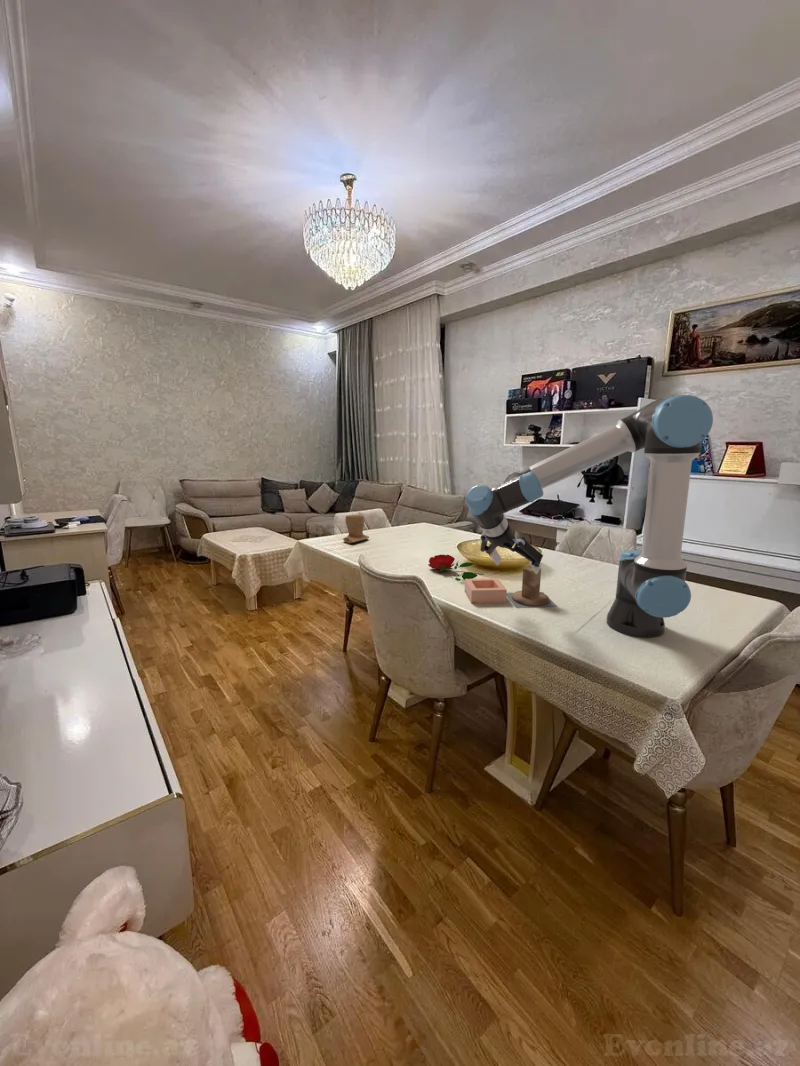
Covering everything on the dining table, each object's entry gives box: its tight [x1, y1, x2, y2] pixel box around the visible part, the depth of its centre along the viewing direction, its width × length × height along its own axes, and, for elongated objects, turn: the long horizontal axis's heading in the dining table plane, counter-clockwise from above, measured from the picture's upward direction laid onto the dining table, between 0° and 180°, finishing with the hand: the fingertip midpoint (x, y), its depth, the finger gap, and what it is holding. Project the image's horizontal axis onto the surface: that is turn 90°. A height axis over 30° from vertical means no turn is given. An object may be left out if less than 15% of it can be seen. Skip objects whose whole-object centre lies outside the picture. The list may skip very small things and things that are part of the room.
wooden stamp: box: [342, 513, 370, 544], centre depth 234 cm, size 15×12×15 cm
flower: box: [427, 554, 485, 581], centre depth 174 cm, size 9×10×30 cm
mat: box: [506, 591, 559, 609], centre depth 149 cm, size 14×14×1 cm
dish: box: [464, 577, 508, 604], centre depth 152 cm, size 12×12×5 cm
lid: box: [512, 565, 550, 606], centre depth 147 cm, size 12×12×11 cm
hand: (517, 566), depth 138 cm, fingers open, 13 cm apart
